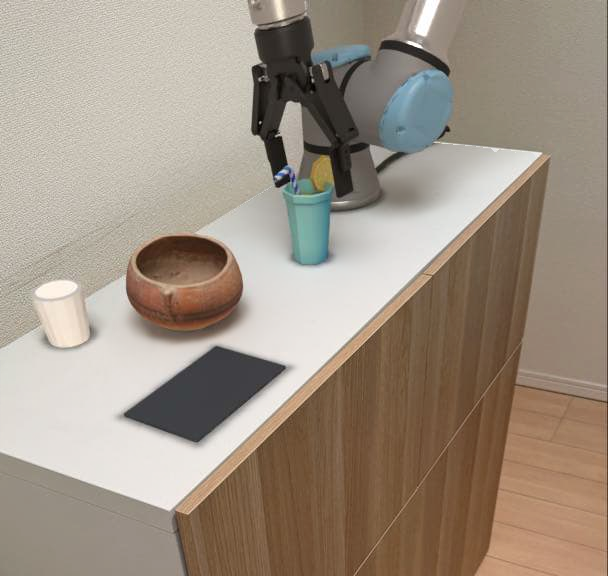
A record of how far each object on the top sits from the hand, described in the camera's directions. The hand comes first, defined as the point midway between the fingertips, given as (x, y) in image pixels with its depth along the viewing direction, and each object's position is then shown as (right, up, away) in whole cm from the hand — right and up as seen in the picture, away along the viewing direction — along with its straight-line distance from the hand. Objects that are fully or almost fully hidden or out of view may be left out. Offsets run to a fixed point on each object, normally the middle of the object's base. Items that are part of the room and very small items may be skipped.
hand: (313, 189), depth 114 cm
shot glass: (-33, -24, -8) cm, 42 cm away
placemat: (-13, -34, -20) cm, 41 cm away
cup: (-1, -8, +7) cm, 11 cm away
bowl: (-17, -21, -6) cm, 28 cm away
